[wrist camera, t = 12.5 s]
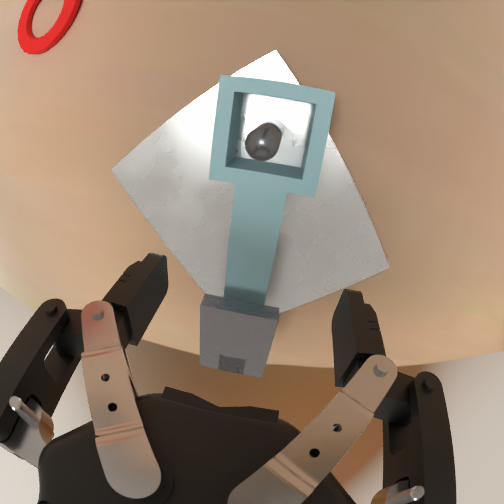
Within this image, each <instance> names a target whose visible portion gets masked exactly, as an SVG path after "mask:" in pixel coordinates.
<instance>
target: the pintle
mask: <svg viewBox="0 0 504 504" xmlns="http://www.w3.org/2000/svg"><path fill="white" fill-rule="evenodd" d="M283 132H284V126H283V124H282V122H281V121H279V120H278V119H275V118H271V119H268V120H266V121H265V122H263V123H262V124H261V125H259V126H258V127H256V128H255V129H254V130H252V131H251V132H250V133H249V134H248V135H247V137H246V139H245V150H246V152H247V153H248V155H249V156H250V157H251V158H253V159H255V160H258V161H267V160H270V159H271V158H273V157H274V156H275V155H276V154H277V152H278V149H279V146H280V142H281V139H282V135H283Z"/></svg>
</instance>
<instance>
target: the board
mask: <svg viewBox="0 0 504 504" xmlns="http://www.w3.org/2000/svg"><path fill="white" fill-rule="evenodd" d="M231 76H241V77H251V78H259V79H267V80H274V81H281V82H287V83H293V84H299V83H298V82H297V80H296V79H295V77H294V76H293V74H292V73H291V71H290V70H289V68H288V67H287V65H286V64H285V62H284V61H283V59H282V58H281V57H280V55H279V54H278V52H277V51H276V50H274V51H273V52H271V53H269V54H267V55H265V56H263V57H262V58H260V59H258V60H256V61H255V62H253V63H251V64H249V65H248V66H246V67H244V68H243V69H241V70H239V71H238V72H236V73H234V74H233V75H231ZM218 86H219V84H217V85H216V86H214V87H213V88H211V89H210V90H208V91H207V92H205V93H204V94H203V95H201V96H200V97H198V98H197V99H195V100H194V101H193V102H191V103H190V104H189V105H187V106H186V107H184V108H183V109H182V110H180V111H179V112H178V113H177V114H175V115H174V116H173V117H171V118H170V119H169V120H168V121H166V122H165V123H164V124H162V125H161V126H160V127H159V128H158V129H156V130H155V131H154V132H153V133H152V134H150V135H149V136H148V137H147V138H146V139H144V140H143V141H142V142H141V143H140V144H139V145H138V146H136V147H135V148H134V149H133V150H132V151H131V152H130V153H129V154H127V155H126V156H125V157H124V158H123V159H122V160H121V161H120V162H119V163H118V164H117V165H116V166H115V167H114V168H113V169H112V172H113V173H114V175H115V176H116V178H117V179H118V181H119V182H120V183H121V185H122V186H123V188H124V189H125V191H126V192H127V193H128V195H129V196H130V198H131V199H132V200H133V202H134V203H135V204H136V206H137V207H138V209H139V210H140V211H141V213H142V214H143V215H144V217H145V218H146V219H147V221H148V222H149V223H150V225H151V226H152V227H153V229H154V230H155V231H156V233H157V234H158V235H159V237H160V238H161V239H162V241H163V242H164V243H165V244H166V246H167V247H168V248H169V250H170V251H171V252H172V253H173V255H174V256H175V257H176V258H177V260H178V261H179V262H180V263H181V265H182V266H183V267H184V268H185V270H186V271H187V272H188V273H189V275H190V276H191V277H192V278H193V280H194V281H195V282H196V283H197V284H198V286H199V287H200V288H201V289H202V291H203V292H204V293H206V294H211V295H215V296H220V297H224V287H225V276H226V266H227V256H228V246H229V237H230V228H231V218H232V209H233V200H234V192H235V183H229V182H222V181H215V180H209V171H210V159H211V149H212V139H213V129H214V120H215V111H216V102H217V94H218ZM311 110H312V104H311V103H306V102H301V101H295V100H290V99H284V98H278V97H271V96H264V95H257V94H248V93H243V100H242V107H241V115H240V122H239V130H238V138H237V146H236V154H235V157H241V158H247V159H253V158H251V157H250V156H249V155H248V153H247V152H246V150H245V139H246V137H247V135H248V134H249V133H250V132H251V131H252V130H254V129H255V128H256V127H258V126H259V125H261V124H262V123H263V122H265V121H266V120H268V119H271V118H275V119H278V120H279V121H281V122H282V124H283V126H284V132H283V135H282V139H281V142H280V146H279V149H278V152H277V154H276V155H275V156H274V157H273V158H271V159H270V160H267V161H266V162H272V163H278V164H283V165H289V166H294V167H299V168H301V164H302V159H303V154H304V148H305V143H306V138H307V132H308V127H309V121H310V116H311ZM254 160H255V159H254ZM388 268H390V267H389V264H388V261H387V259H386V256H385V253H384V251H383V248H382V246H381V243H380V241H379V238H378V236H377V233H376V231H375V228H374V226H373V223H372V221H371V219H370V216H369V214H368V212H367V209H366V207H365V205H364V203H363V200H362V198H361V196H360V194H359V192H358V190H357V188H356V185H355V183H354V181H353V179H352V177H351V175H350V173H349V171H348V169H347V167H346V165H345V163H344V161H343V159H342V157H341V155H340V153H339V151H338V150H337V148H336V146H335V144H334V142H333V140H332V138H331V137H330V135H329V133H328V137H327V142H326V147H325V152H324V157H323V161H322V166H321V171H320V175H319V180H318V184H317V189H316V193H315V198H313V197H308V196H303V195H298V194H293V193H288V192H287V196H286V201H285V206H284V211H283V216H282V221H281V226H280V231H279V236H278V241H277V246H276V251H275V256H274V261H273V266H272V271H271V275H270V280H269V285H268V290H267V294H266V299H265V304H264V305H266V306H272V307H277V308H279V313H282V312H285V311H287V310H290V309H293V308H295V307H298V306H300V305H303V304H306V303H308V302H311V301H313V300H316V299H318V298H321V297H323V296H326V295H328V294H331V293H333V292H335V291H338V290H340V289H343V288H345V287H347V286H350V285H352V284H354V283H357V282H359V281H361V280H364V279H366V278H368V277H371V276H373V275H375V274H377V273H379V272H382V271H384V270H386V269H388Z"/></svg>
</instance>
